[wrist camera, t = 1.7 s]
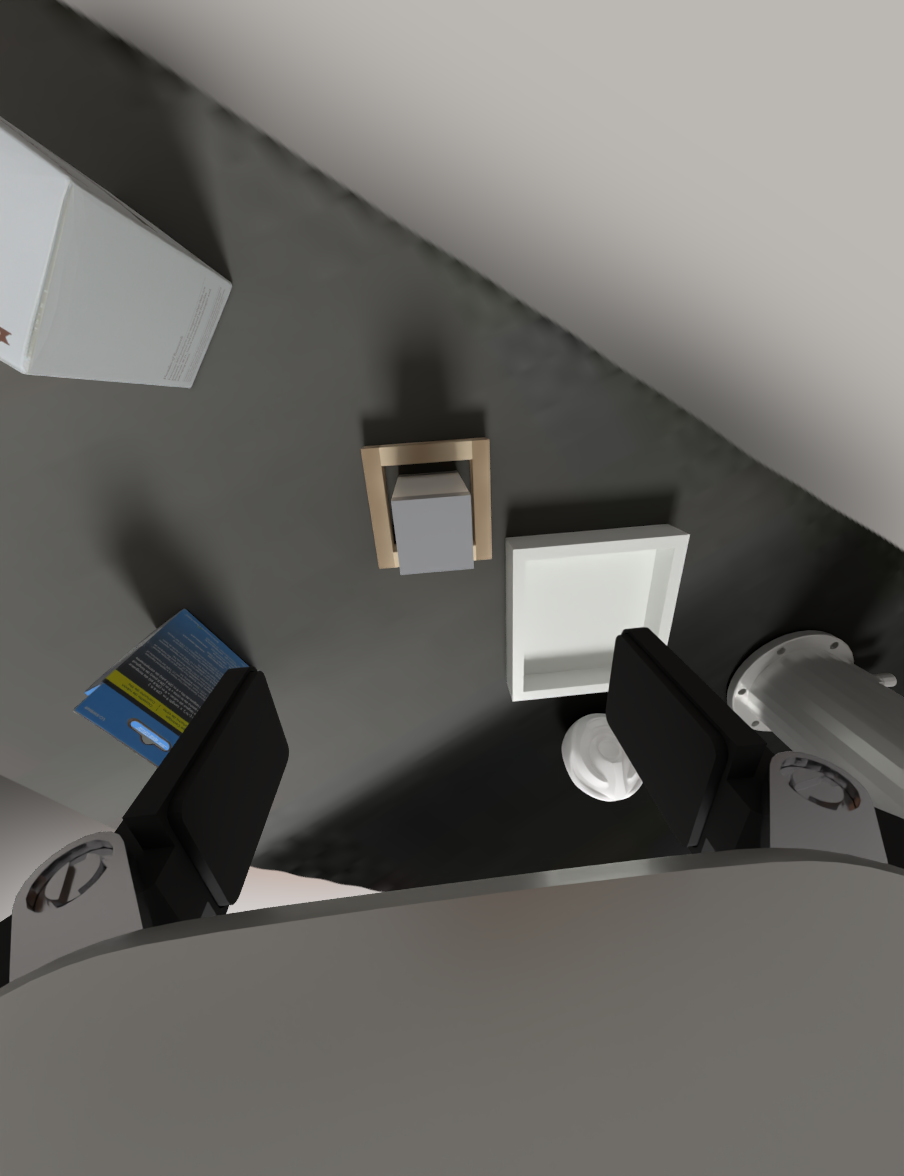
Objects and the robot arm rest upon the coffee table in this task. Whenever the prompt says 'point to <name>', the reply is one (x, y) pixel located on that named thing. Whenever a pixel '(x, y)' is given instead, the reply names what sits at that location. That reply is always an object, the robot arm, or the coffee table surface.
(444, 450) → the tan wooden flat frame
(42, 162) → the supplement box
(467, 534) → the grey white rectangular block
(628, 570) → the parts tray
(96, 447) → the coffee table surface
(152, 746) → the label tape cartridge
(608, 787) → the white grooved ball
